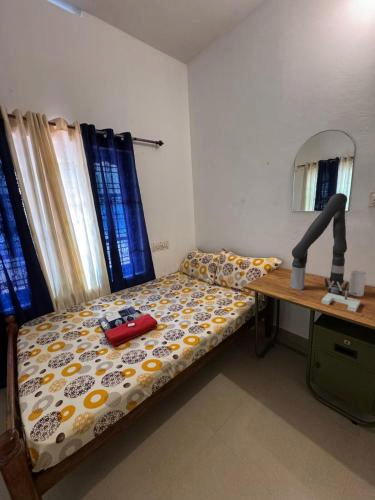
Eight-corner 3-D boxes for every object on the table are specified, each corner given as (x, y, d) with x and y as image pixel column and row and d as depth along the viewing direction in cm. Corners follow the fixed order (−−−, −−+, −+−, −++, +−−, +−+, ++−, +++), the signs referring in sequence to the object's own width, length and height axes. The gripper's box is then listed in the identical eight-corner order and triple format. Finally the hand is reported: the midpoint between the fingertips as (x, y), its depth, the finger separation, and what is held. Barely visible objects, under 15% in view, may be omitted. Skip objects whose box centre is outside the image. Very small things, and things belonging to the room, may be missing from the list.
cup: (360, 297, 147) (363, 275, 143) (346, 293, 153) (349, 272, 150) (365, 294, 151) (368, 272, 148) (351, 290, 158) (353, 269, 154)
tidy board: (321, 303, 142) (322, 291, 140) (327, 296, 151) (328, 284, 149) (355, 312, 129) (357, 299, 127) (360, 303, 138) (361, 291, 136)
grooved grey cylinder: (329, 295, 152) (330, 287, 151) (331, 292, 156) (332, 284, 155) (338, 297, 148) (339, 289, 147) (340, 294, 152) (341, 286, 151)
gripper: (323, 270, 151) (321, 293, 155) (348, 274, 141) (346, 298, 144) (327, 268, 156) (324, 289, 160) (351, 271, 146) (348, 295, 149)
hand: (334, 294), depth 152 cm, fingers closed on grooved grey cylinder, 5 cm apart
